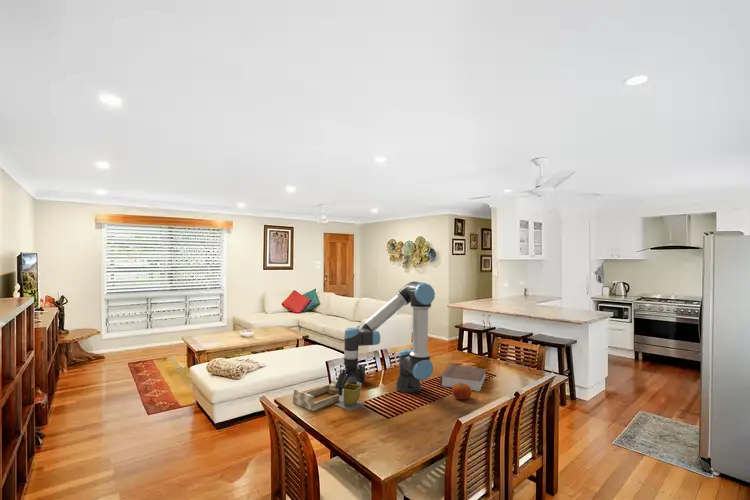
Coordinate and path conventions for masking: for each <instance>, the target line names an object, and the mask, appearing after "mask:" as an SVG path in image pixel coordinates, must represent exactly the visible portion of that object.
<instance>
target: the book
mask: <svg viewBox="0 0 750 500" xmlns="http://www.w3.org/2000/svg"><path fill="white" fill-rule="evenodd" d="M486 370H487V368H479V367H474V366H473V367H471V366H463V365H455V364H448V366H447V367H446V368H445V369H444V371H443V372H442V373H441V375H440V381H439V382H440V387H445V388H451V389H452V388H453V386H454V385H455V384H457V383H465V384H467V385H468V386H469V387H470V388H471V391H472V390H475V391H474V392H479V391H480V390H481V391H482V388H481V387H483V385H484V382H485V380H486ZM484 379H485V380H484ZM482 384H483V385H482ZM481 391H480V392H481Z"/></svg>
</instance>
